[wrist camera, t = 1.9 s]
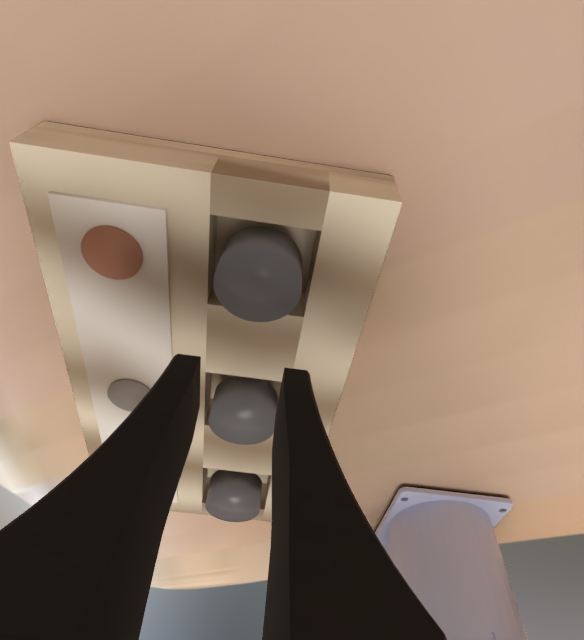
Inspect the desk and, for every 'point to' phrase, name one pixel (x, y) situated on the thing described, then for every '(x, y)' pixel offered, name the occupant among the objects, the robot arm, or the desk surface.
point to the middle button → (243, 410)
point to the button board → (194, 275)
